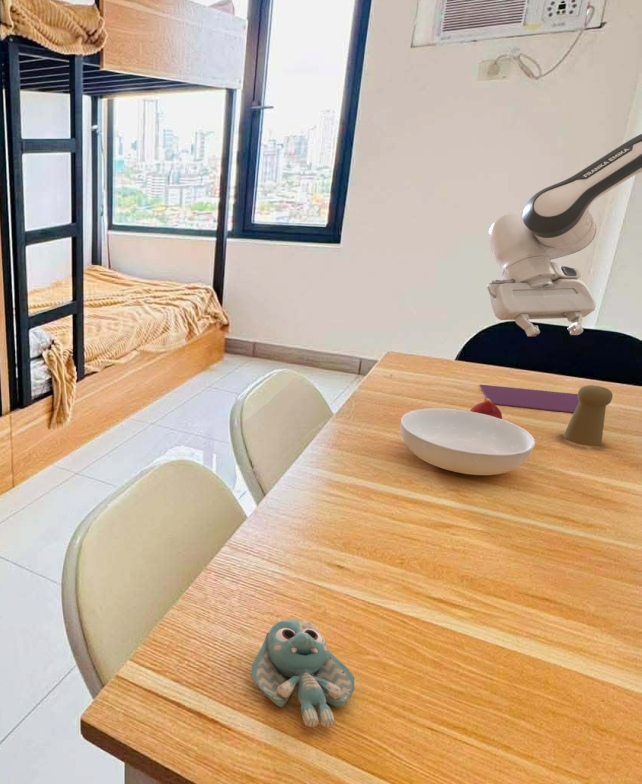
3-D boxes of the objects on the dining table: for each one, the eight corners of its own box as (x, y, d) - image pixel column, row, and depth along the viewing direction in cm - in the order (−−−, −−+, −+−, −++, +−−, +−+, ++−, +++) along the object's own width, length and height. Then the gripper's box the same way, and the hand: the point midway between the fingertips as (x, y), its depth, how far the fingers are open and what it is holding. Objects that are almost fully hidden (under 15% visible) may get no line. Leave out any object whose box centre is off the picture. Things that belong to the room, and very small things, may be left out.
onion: (496, 432, 129) (505, 396, 126) (498, 443, 124) (507, 405, 121) (463, 427, 132) (471, 391, 129) (464, 437, 127) (472, 400, 124)
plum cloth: (578, 395, 148) (579, 394, 148) (598, 415, 136) (599, 414, 136) (479, 385, 156) (479, 384, 156) (490, 404, 144) (490, 402, 144)
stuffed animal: (271, 698, 59) (244, 597, 69) (260, 741, 63) (236, 640, 73) (387, 701, 59) (342, 599, 69) (370, 744, 62) (330, 641, 73)
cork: (567, 430, 129) (582, 380, 125) (605, 439, 125) (621, 387, 121) (559, 438, 126) (573, 387, 122) (597, 448, 121) (613, 394, 117)
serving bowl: (370, 453, 121) (376, 420, 118) (438, 432, 130) (445, 401, 127) (481, 500, 103) (490, 463, 101) (551, 472, 112) (561, 437, 110)
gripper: (494, 271, 133) (518, 327, 127) (586, 269, 134) (614, 324, 128) (475, 289, 138) (497, 343, 133) (563, 286, 140) (589, 340, 134)
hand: (555, 334), depth 130 cm, fingers open, 8 cm apart
